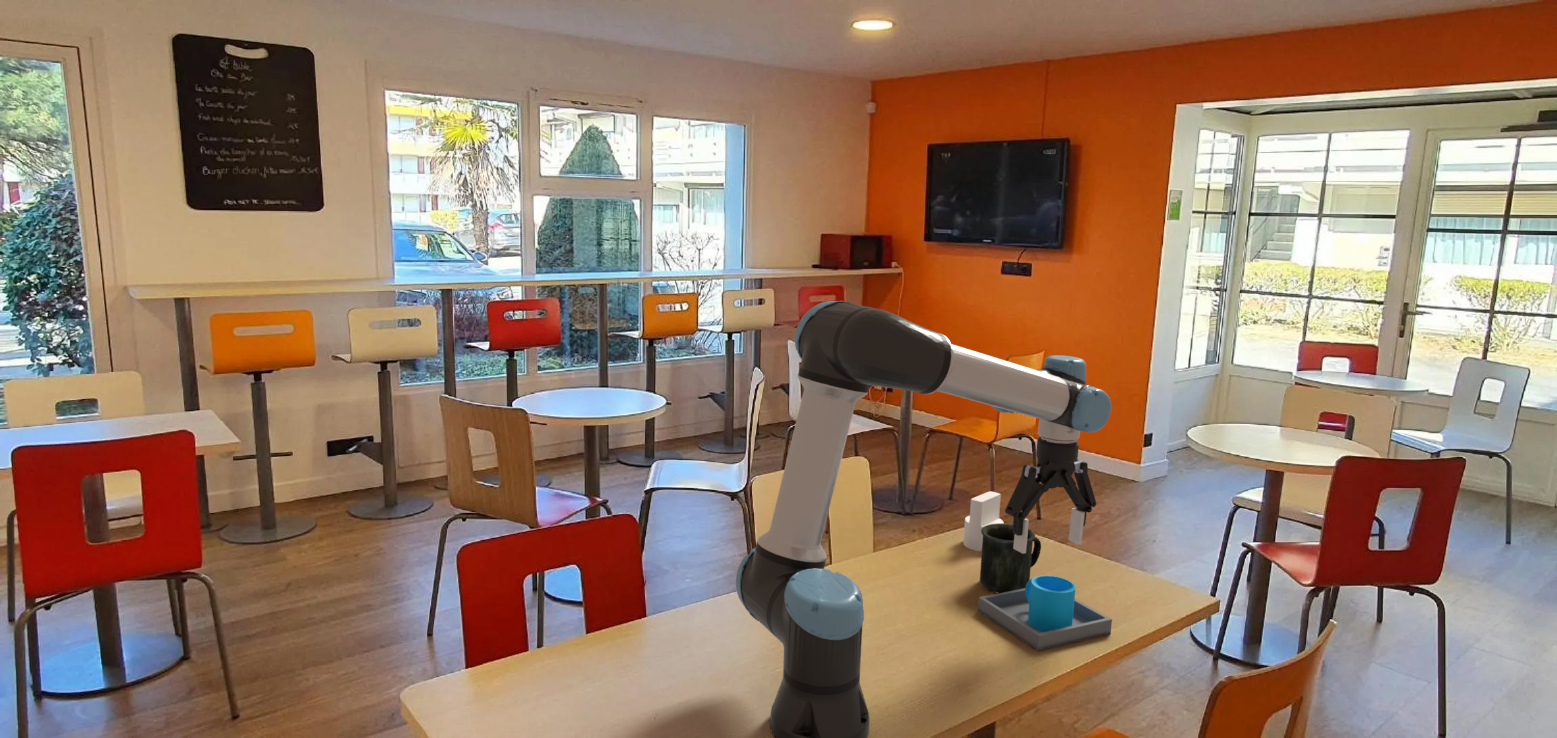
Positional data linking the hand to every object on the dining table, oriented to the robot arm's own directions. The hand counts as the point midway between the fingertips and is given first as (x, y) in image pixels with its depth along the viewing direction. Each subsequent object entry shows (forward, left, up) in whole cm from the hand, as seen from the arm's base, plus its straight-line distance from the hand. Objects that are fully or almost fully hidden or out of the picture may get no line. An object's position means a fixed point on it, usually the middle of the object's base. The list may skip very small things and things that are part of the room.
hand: (1047, 546), depth 175 cm
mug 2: (+1, 0, -15) cm, 15 cm away
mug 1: (+6, +17, -16) cm, 24 cm away
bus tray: (0, 0, -16) cm, 16 cm away
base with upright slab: (+15, +38, -16) cm, 44 cm away
